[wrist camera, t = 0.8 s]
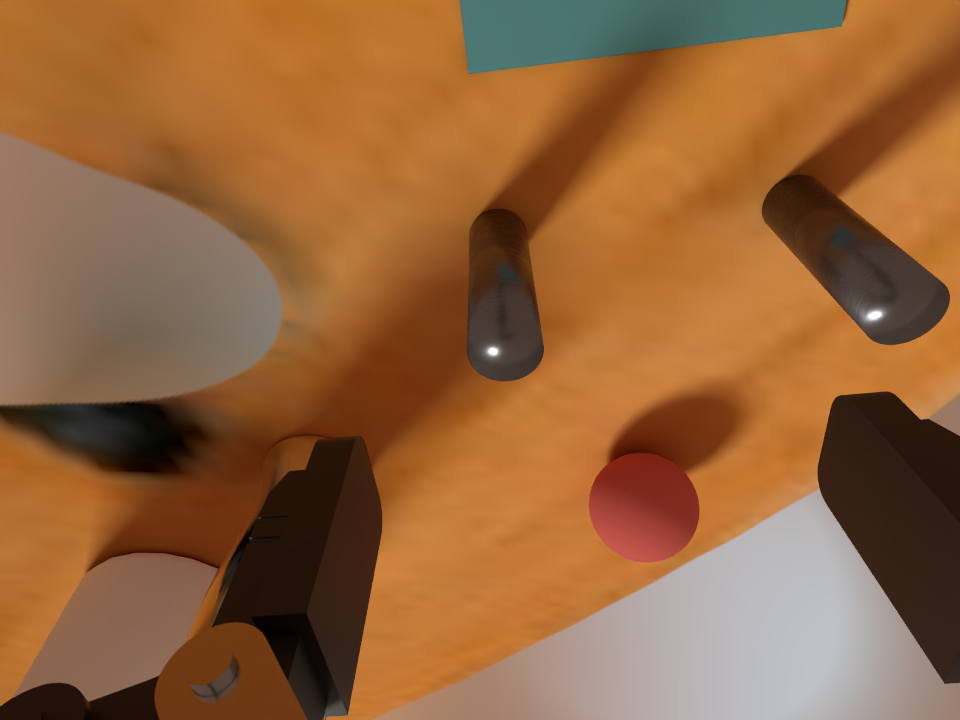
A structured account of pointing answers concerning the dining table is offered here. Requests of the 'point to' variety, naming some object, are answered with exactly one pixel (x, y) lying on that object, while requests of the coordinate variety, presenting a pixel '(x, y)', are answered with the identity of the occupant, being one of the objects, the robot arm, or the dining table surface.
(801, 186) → the post
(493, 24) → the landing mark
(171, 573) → the white jar
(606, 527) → the ball
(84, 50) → the dining table surface
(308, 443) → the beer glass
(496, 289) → the post
